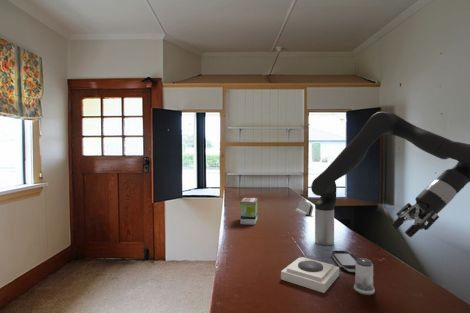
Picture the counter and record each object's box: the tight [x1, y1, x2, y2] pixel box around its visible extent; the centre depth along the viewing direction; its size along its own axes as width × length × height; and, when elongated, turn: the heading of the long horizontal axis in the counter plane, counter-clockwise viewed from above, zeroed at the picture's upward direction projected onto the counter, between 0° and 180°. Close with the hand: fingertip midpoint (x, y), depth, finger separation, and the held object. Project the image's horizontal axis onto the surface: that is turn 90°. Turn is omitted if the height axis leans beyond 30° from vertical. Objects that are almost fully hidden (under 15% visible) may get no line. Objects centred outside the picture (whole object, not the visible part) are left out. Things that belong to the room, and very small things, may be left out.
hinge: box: [295, 200, 314, 217], centre depth 202 cm, size 17×5×10 cm, turn 12°
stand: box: [280, 256, 340, 294], centre depth 101 cm, size 16×16×4 cm
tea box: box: [240, 197, 258, 226], centre depth 180 cm, size 15×10×15 cm
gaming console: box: [330, 250, 358, 274], centre depth 114 cm, size 19×9×3 cm, turn 177°
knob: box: [353, 257, 376, 296], centre depth 92 cm, size 6×6×10 cm
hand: (400, 231), depth 91 cm, fingers open, 8 cm apart
